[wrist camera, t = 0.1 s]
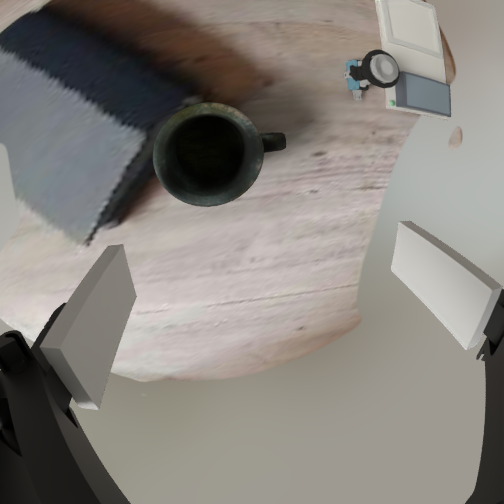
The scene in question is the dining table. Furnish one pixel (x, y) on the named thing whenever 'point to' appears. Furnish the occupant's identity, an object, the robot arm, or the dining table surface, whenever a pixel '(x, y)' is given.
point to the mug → (211, 154)
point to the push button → (372, 72)
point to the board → (411, 42)
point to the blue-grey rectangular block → (423, 94)
